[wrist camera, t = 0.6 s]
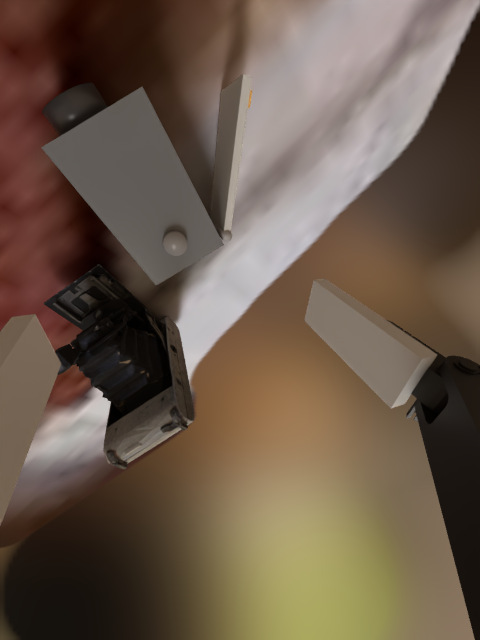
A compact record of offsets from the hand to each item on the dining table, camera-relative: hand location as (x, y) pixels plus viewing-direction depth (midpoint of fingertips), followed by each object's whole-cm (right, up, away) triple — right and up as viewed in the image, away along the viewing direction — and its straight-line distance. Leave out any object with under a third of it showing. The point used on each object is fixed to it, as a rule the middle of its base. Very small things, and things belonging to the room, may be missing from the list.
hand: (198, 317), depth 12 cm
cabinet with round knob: (-9, +16, +16) cm, 24 cm away
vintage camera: (-16, +1, +24) cm, 29 cm away
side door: (0, +19, +17) cm, 25 cm away
